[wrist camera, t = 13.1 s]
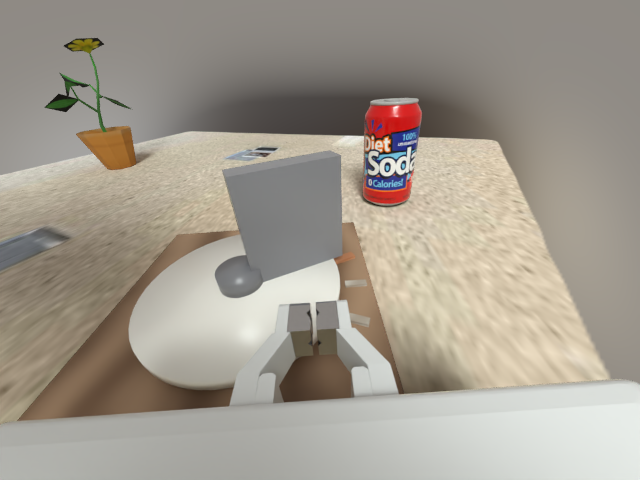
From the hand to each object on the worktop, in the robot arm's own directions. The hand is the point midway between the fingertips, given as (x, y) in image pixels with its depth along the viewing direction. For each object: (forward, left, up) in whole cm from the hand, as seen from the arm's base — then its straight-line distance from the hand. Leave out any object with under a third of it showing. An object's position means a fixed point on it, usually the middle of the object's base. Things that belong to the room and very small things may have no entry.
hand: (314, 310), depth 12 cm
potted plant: (-58, +68, -9) cm, 90 cm away
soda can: (+12, +31, -9) cm, 34 cm away
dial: (-7, +9, -7) cm, 13 cm away
